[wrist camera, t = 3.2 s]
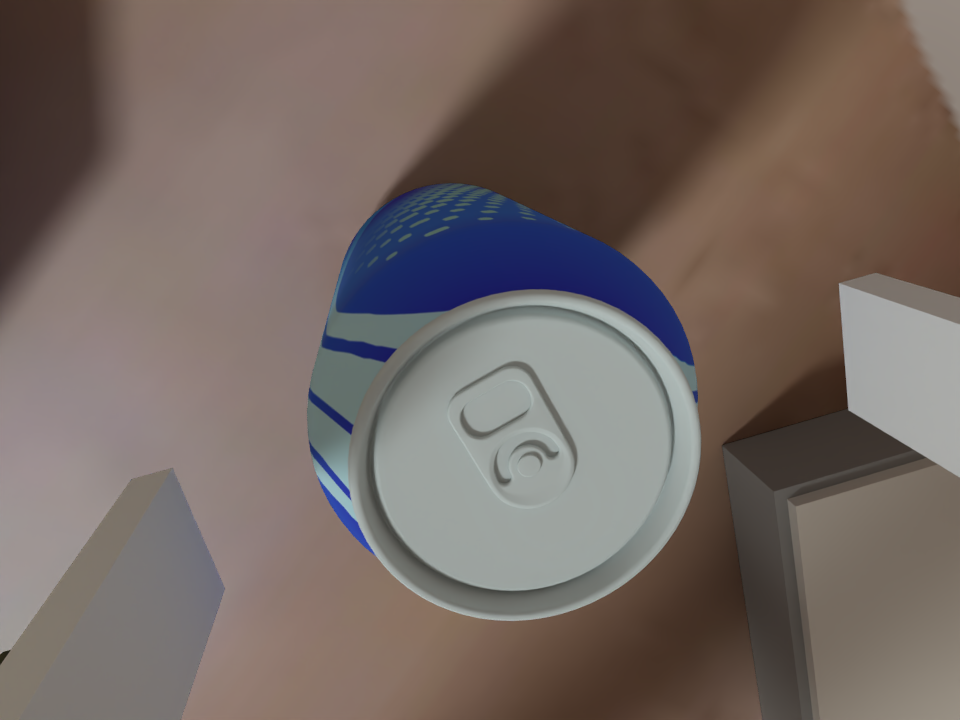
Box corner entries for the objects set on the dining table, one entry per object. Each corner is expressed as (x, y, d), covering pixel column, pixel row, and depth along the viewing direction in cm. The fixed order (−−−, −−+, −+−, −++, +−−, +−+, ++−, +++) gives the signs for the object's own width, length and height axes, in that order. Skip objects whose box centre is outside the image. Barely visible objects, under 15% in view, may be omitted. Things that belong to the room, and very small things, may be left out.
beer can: (573, 202, 28) (806, 280, 13) (529, 403, 30) (683, 674, 15) (355, 161, 26) (326, 195, 11) (326, 377, 29) (269, 648, 13)
